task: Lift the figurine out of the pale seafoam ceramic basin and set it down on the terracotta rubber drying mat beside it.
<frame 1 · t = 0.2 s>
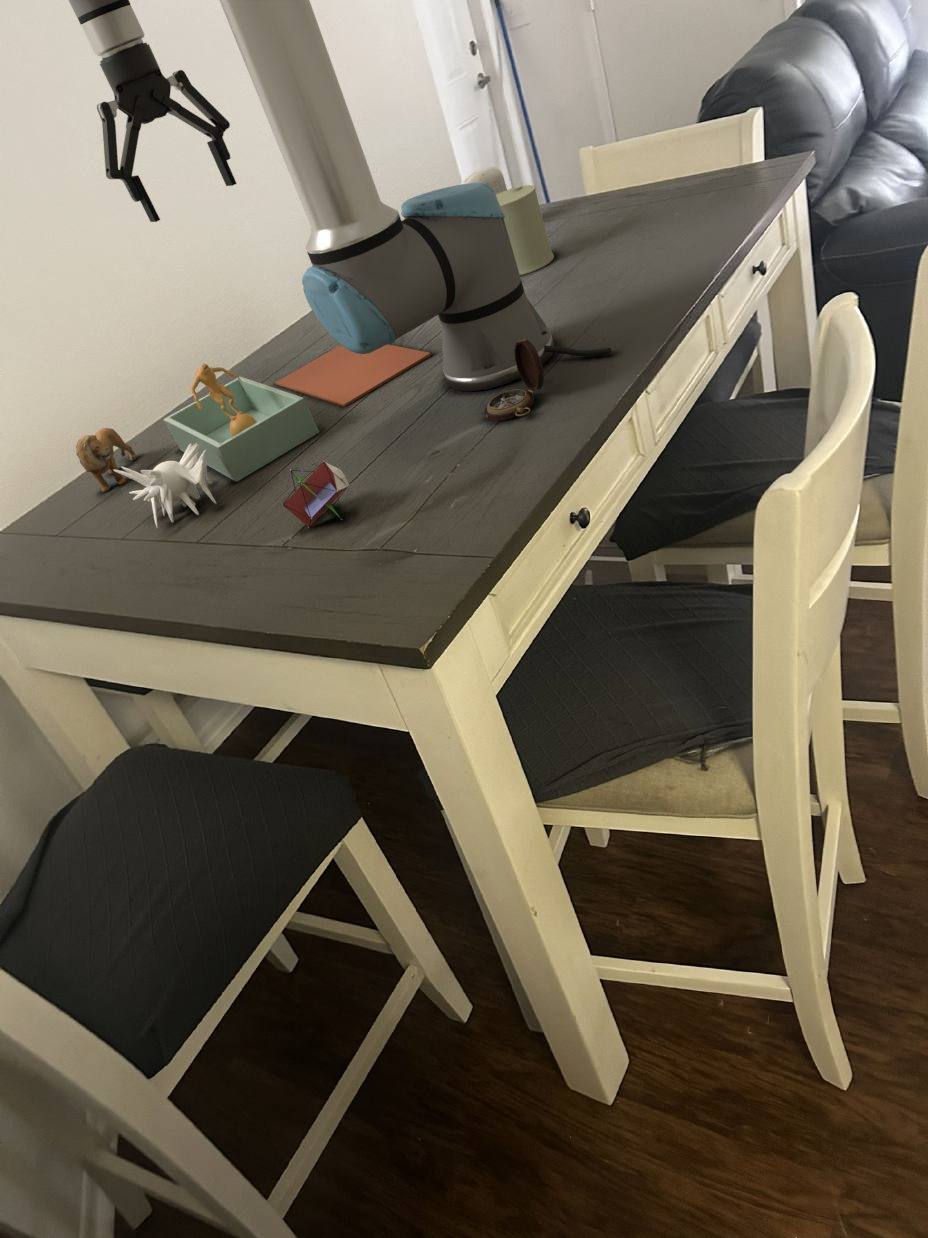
hand: (194, 202, 143), 28 cm above the table, tool pointing down, fingers open, 13 cm apart
lion figurine: (122, 478, 140), on the table
compass: (519, 410, 113), on the table
geometric puzzle: (328, 519, 106), on the table
spiky ball: (187, 513, 121), on the table
drying mat: (350, 370, 144), on the table
figurine: (246, 440, 134), resting in basin
basin: (246, 441, 134), on the table
can: (527, 266, 157), on the table
white curved piece: (496, 239, 177), on the table
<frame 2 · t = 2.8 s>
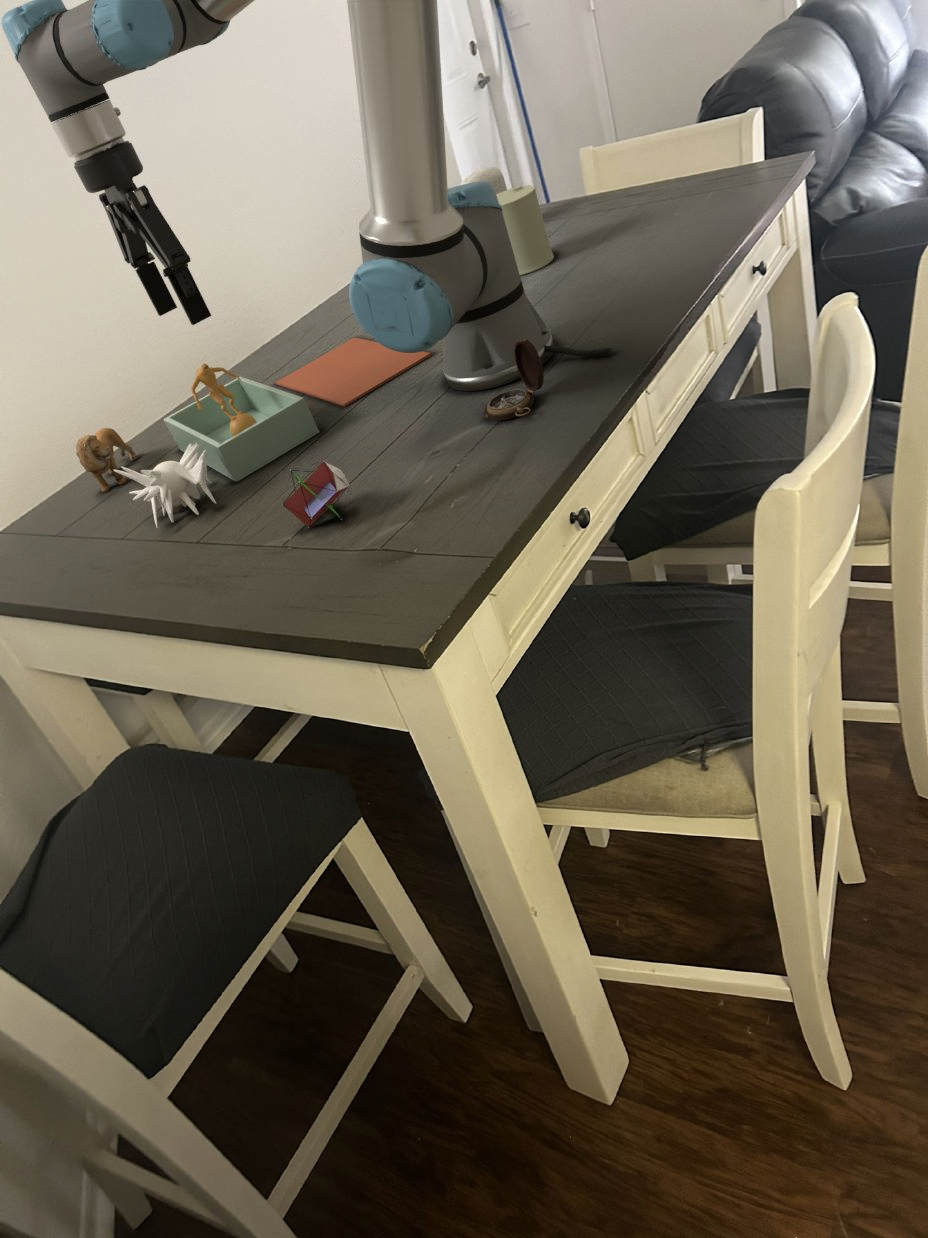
hand: (184, 315, 124), 19 cm above the table, tool pointing down, fingers open, 13 cm apart
nothing on the table moved.
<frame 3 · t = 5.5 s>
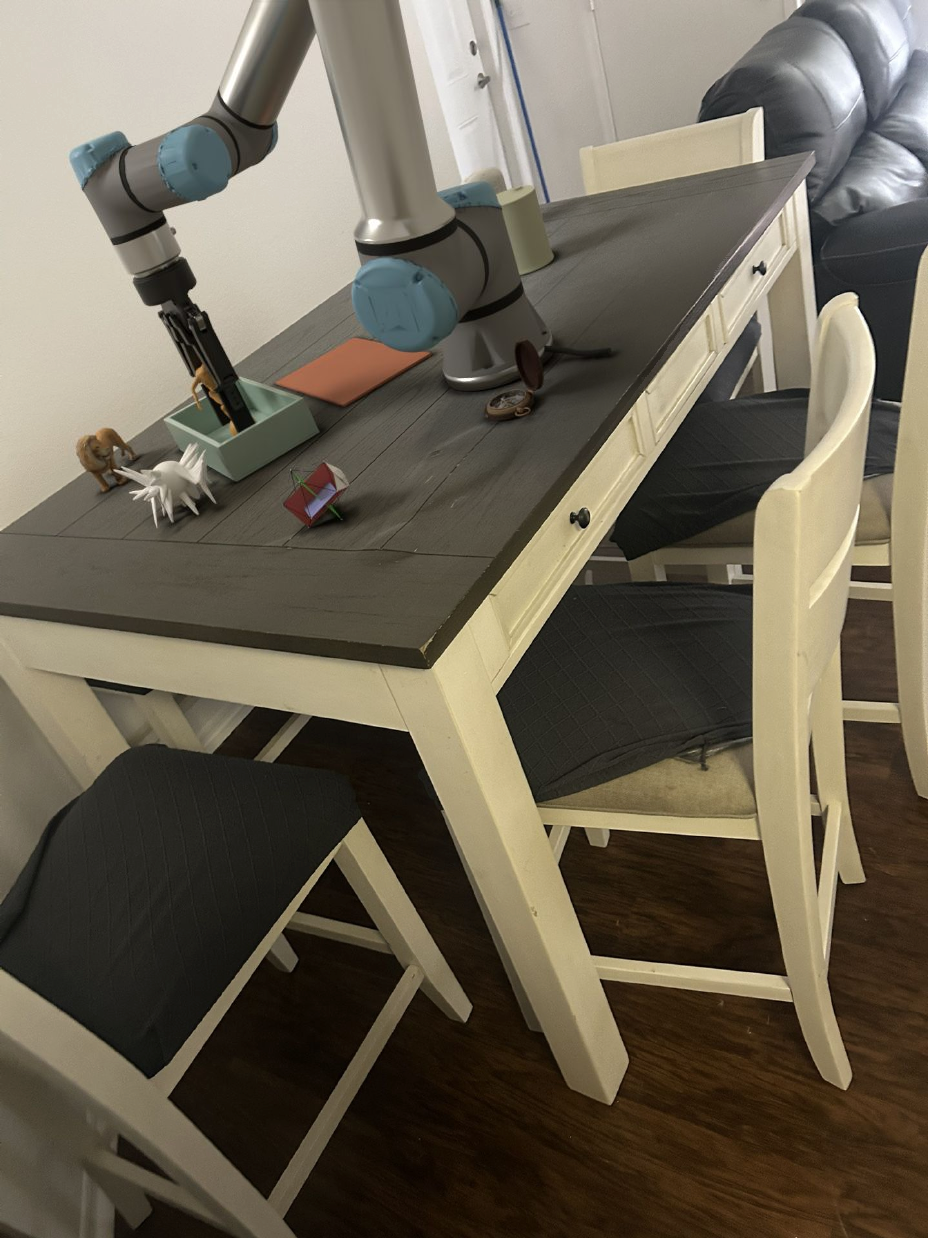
hand: (238, 424, 132), 3 cm above the table, tool pointing down, fingers closed on figurine, 6 cm apart
figurine: (246, 440, 134), resting in basin, touching gripper
everything else where it was.
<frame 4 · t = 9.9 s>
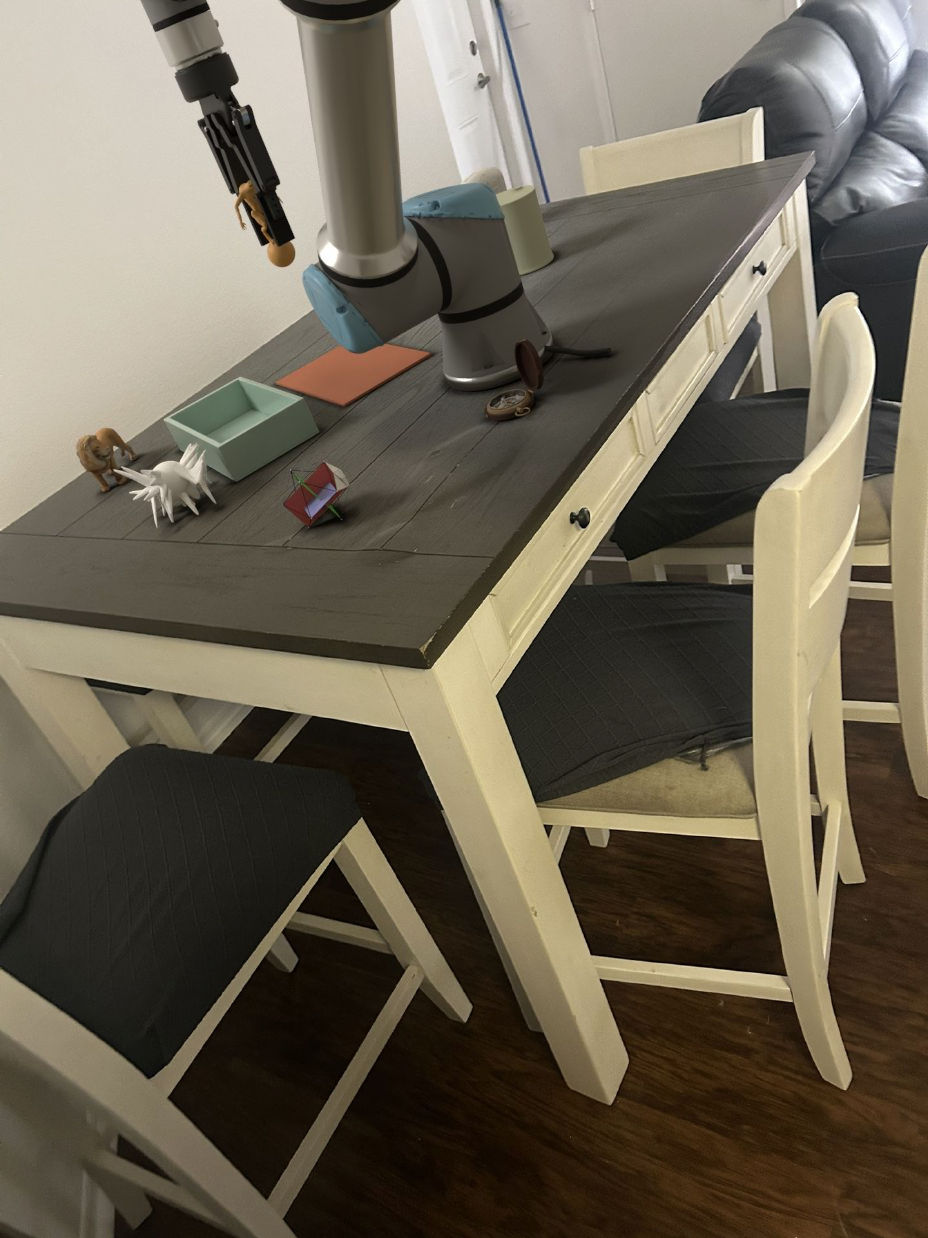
hand: (277, 241, 131), 21 cm above the table, tool pointing down
figurine: (280, 265, 134), point 18 cm above the table, touching gripper
everything else where it was.
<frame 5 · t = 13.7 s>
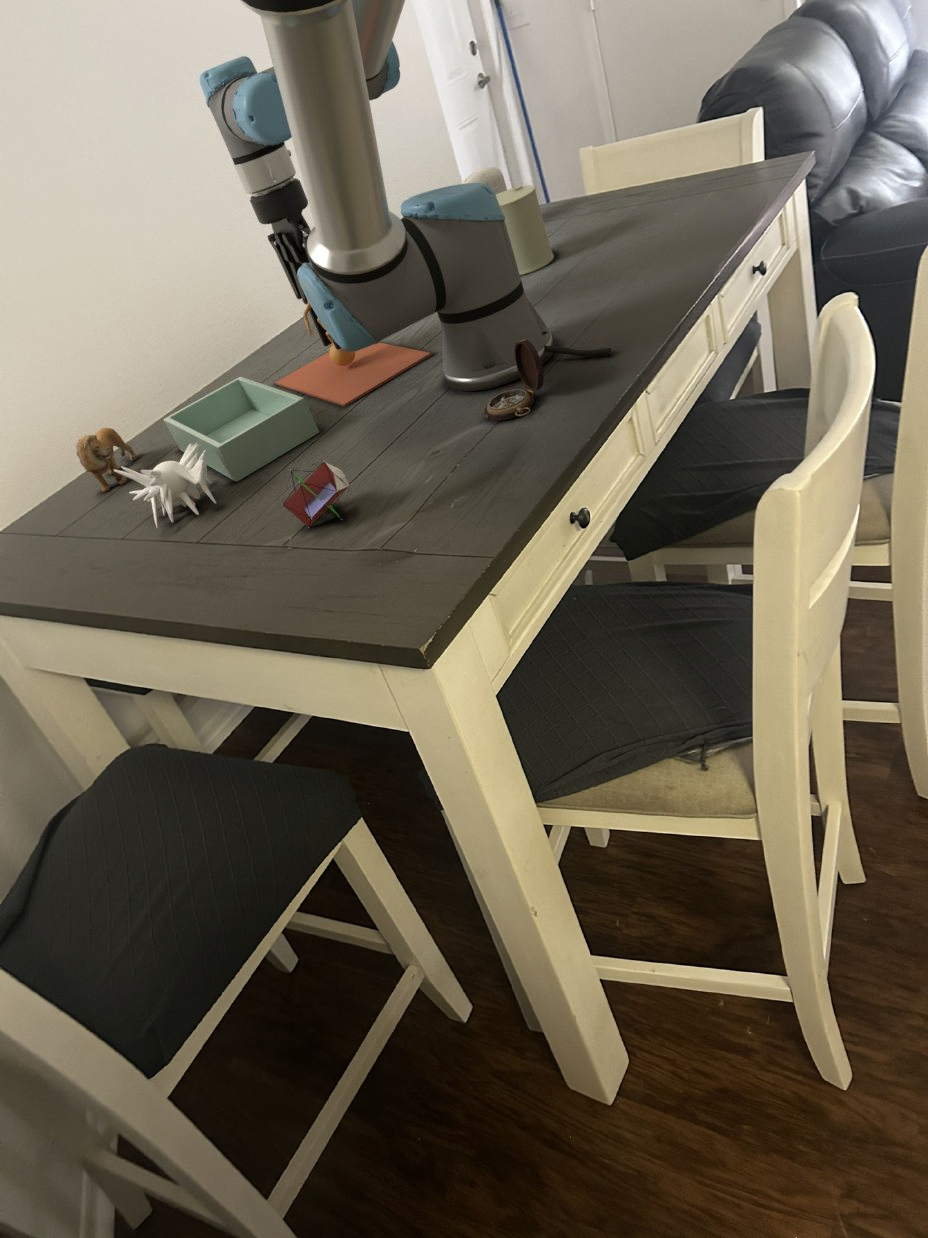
hand: (338, 343, 142), 4 cm above the table, tool pointing down, fingers closed on figurine, 3 cm apart
figurine: (340, 362, 145), point 1 cm above the table, touching drying mat, gripper
everything else where it was.
when the fingers open (4 cm above the table, at t = 13.8 s): figurine moves 7 cm, resting on drying mat.
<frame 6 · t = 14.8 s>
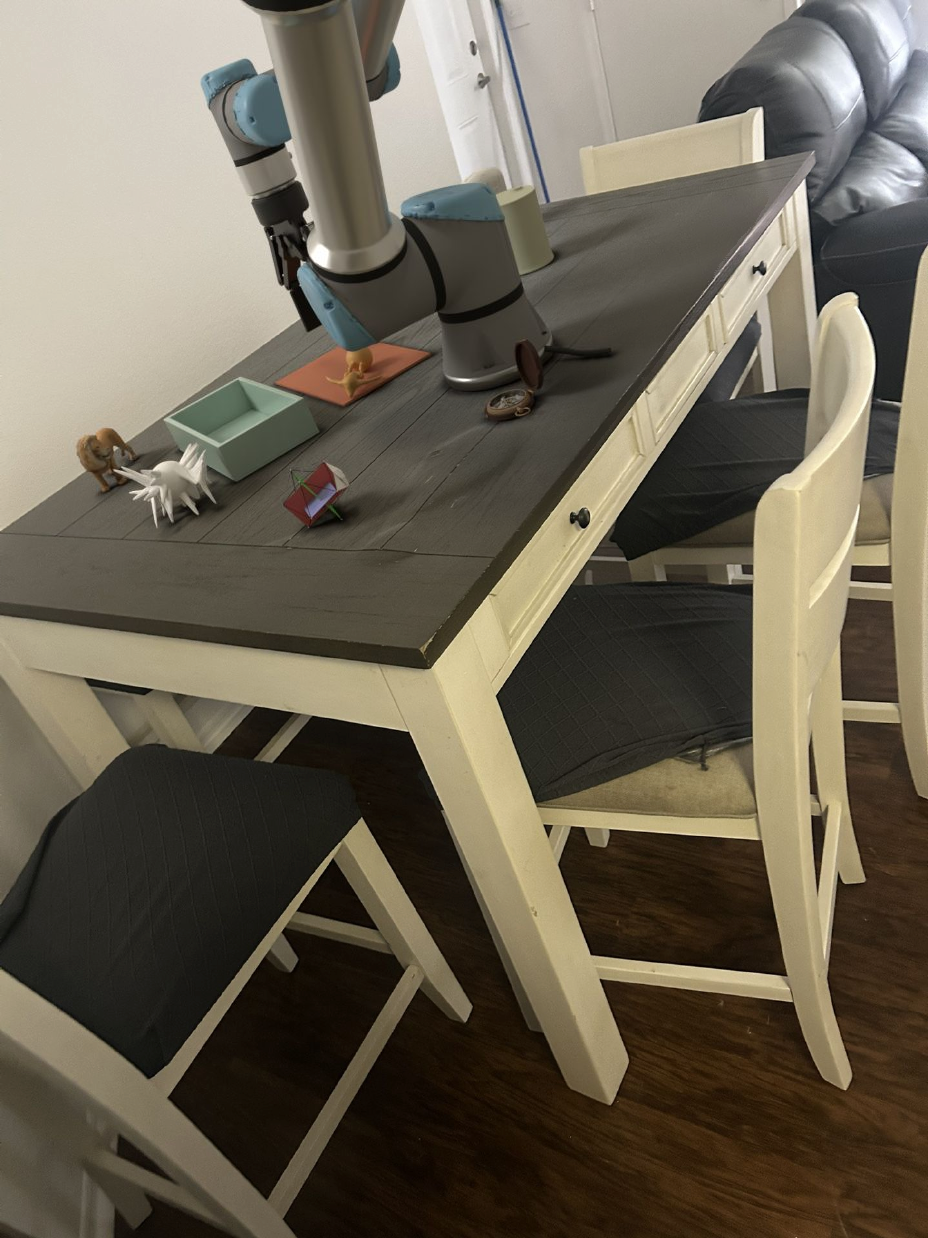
hand: (334, 332, 140), 6 cm above the table, tool pointing down, fingers open, 13 cm apart
figurine: (360, 342, 140), point 4 cm above the table, touching drying mat
everything else where it was.
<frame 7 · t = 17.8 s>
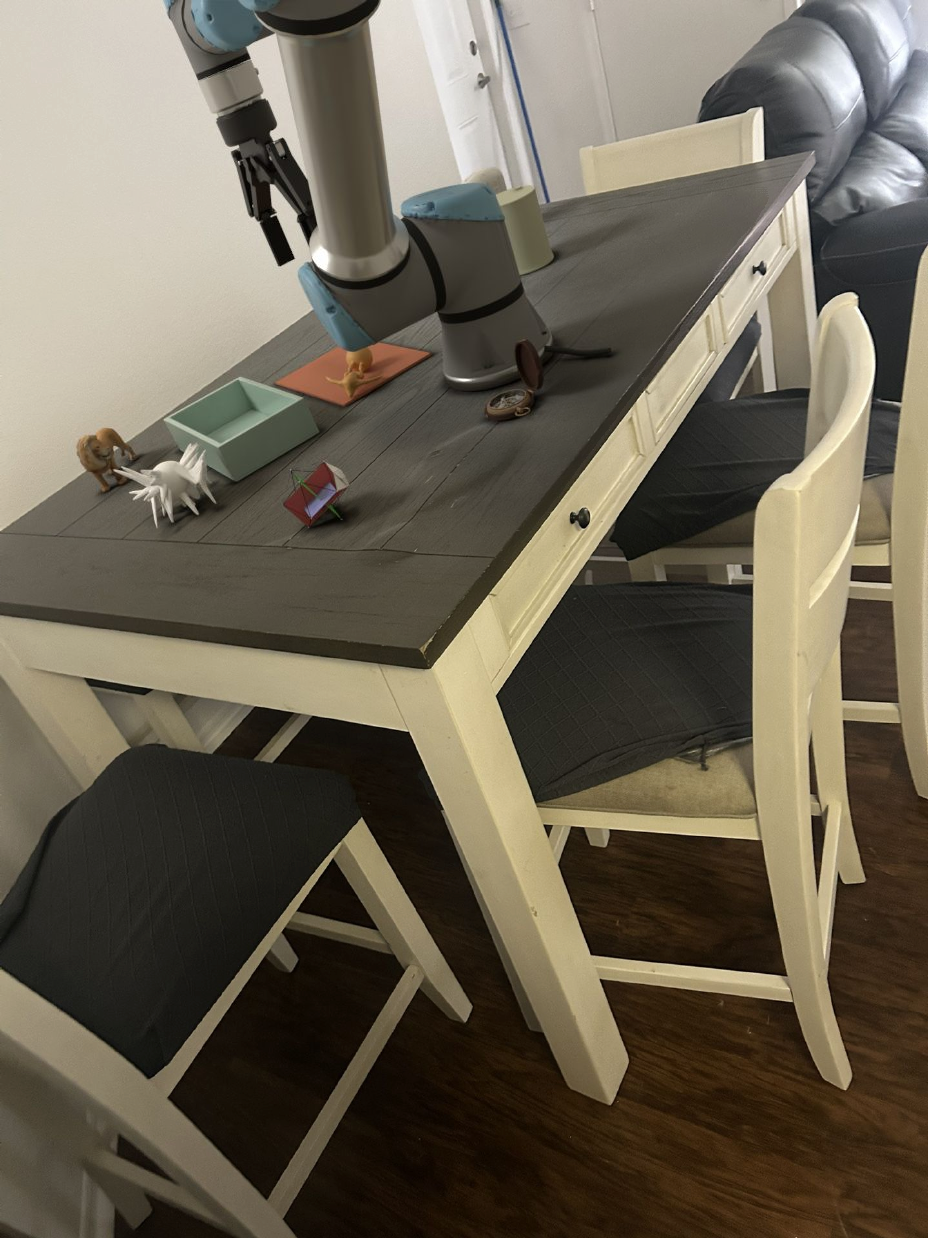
hand: (306, 263, 134), 17 cm above the table, tool pointing down, fingers open, 13 cm apart
nothing on the table moved.
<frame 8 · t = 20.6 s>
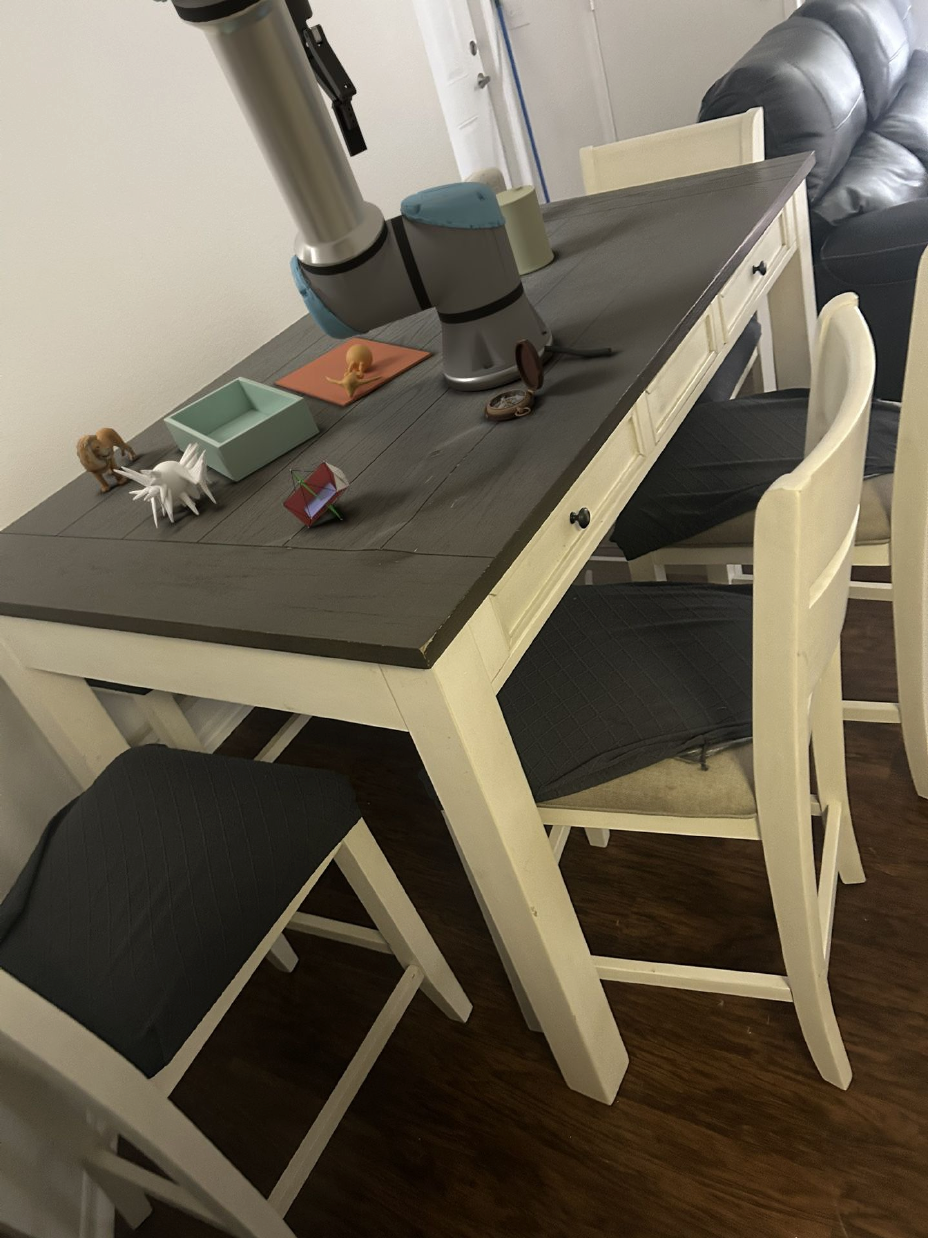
hand: (337, 155, 140), 27 cm above the table, tool pointing down, fingers open, 13 cm apart
nothing on the table moved.
at the end: figurine inside the target area on the drying mat (3.9 cm from its centre), point 4.2 cm above the drying mat's base; the gripper is holding nothing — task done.
